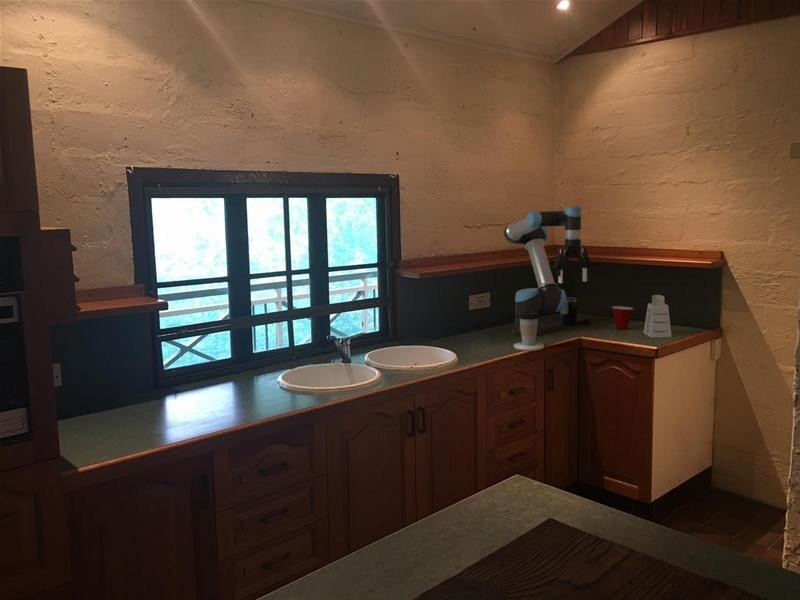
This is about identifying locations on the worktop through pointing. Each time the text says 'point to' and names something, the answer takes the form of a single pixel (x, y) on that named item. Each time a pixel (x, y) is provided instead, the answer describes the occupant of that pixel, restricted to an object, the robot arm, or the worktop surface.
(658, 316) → the grater
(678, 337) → the worktop surface
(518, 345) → the saucer
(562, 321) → the milk frother
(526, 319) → the coffee cup
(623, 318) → the plastic cup
